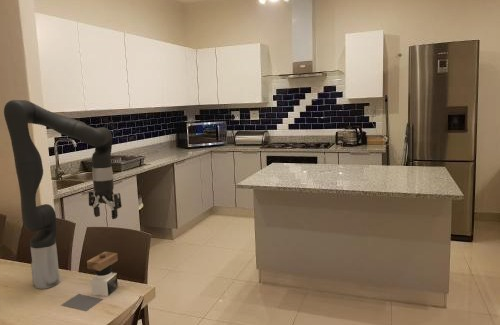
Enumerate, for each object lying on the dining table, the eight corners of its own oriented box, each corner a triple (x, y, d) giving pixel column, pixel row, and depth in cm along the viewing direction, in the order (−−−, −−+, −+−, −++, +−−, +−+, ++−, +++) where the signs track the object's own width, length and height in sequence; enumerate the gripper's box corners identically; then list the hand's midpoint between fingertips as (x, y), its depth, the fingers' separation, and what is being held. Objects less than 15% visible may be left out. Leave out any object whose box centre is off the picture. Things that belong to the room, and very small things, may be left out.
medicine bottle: (108, 298, 153) (106, 269, 151) (91, 296, 154) (89, 267, 152) (118, 289, 160) (116, 261, 158) (102, 287, 161) (99, 260, 159)
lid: (87, 268, 152) (86, 258, 151) (105, 258, 161) (104, 249, 160) (100, 271, 149) (99, 261, 149) (117, 260, 159) (117, 251, 158)
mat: (60, 307, 147) (60, 305, 146) (79, 296, 155) (78, 293, 155) (86, 313, 142) (86, 311, 142) (103, 301, 151) (103, 299, 151)
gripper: (81, 178, 157) (85, 218, 160) (111, 181, 152) (114, 222, 155) (95, 175, 164) (98, 213, 167) (123, 177, 159) (126, 216, 162)
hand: (106, 217), depth 161 cm, fingers open, 8 cm apart
